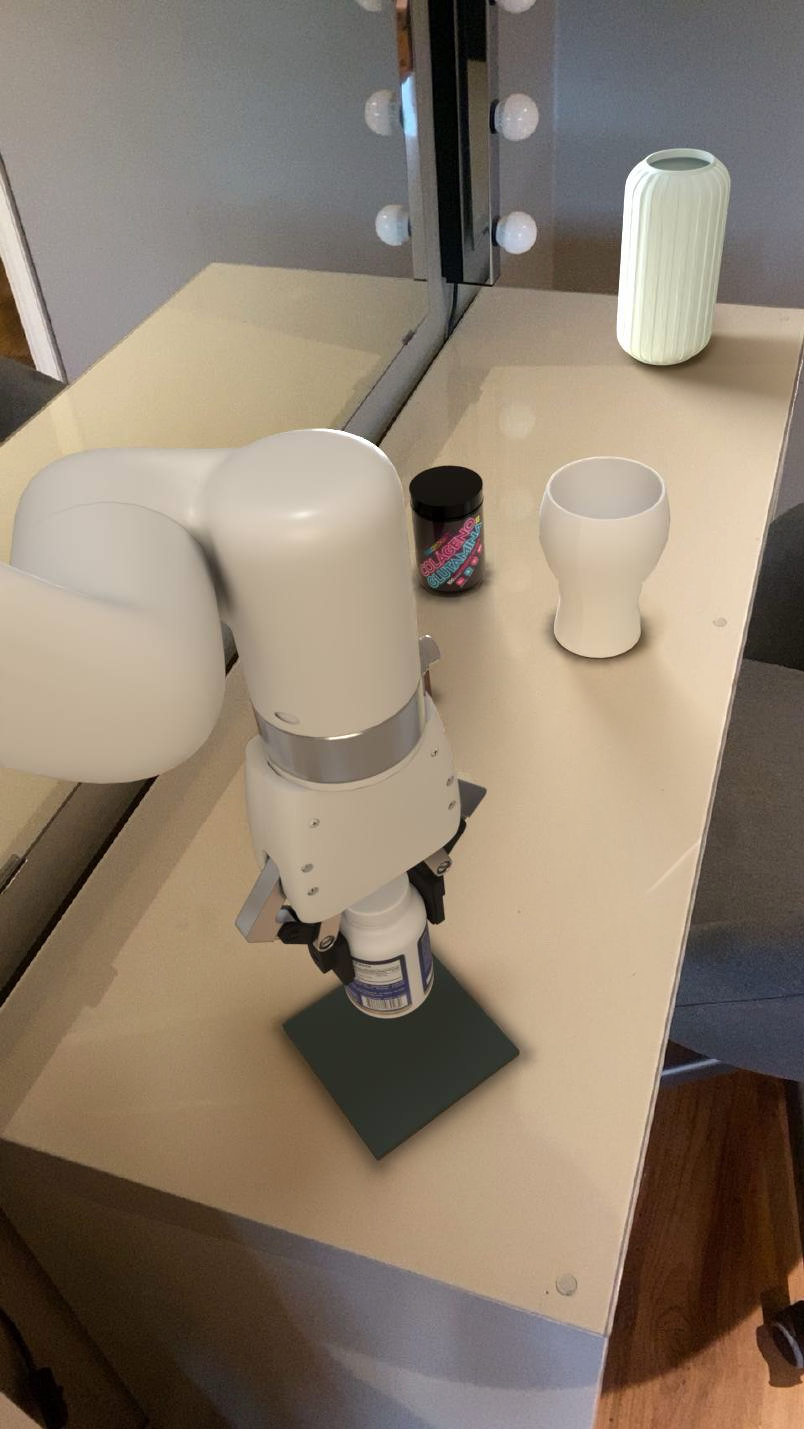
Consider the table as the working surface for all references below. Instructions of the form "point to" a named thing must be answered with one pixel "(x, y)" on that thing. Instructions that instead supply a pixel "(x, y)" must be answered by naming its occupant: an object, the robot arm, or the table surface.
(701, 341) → the vase
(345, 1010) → the pad
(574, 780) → the table surface
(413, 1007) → the pill bottle
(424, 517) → the supplement container
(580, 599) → the cup
